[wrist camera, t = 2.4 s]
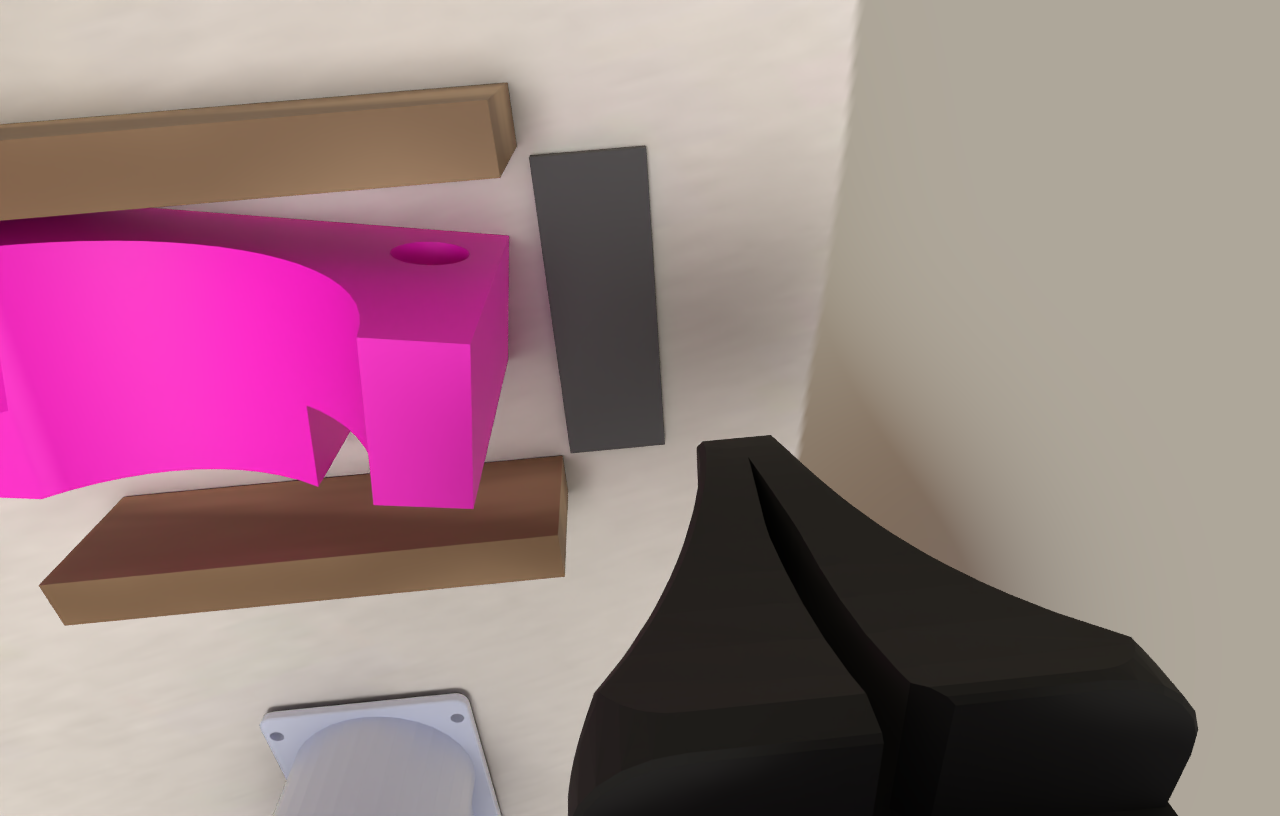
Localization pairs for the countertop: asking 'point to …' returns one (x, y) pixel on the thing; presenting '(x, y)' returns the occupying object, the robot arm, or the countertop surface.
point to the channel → (298, 511)
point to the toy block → (248, 350)
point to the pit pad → (602, 294)
